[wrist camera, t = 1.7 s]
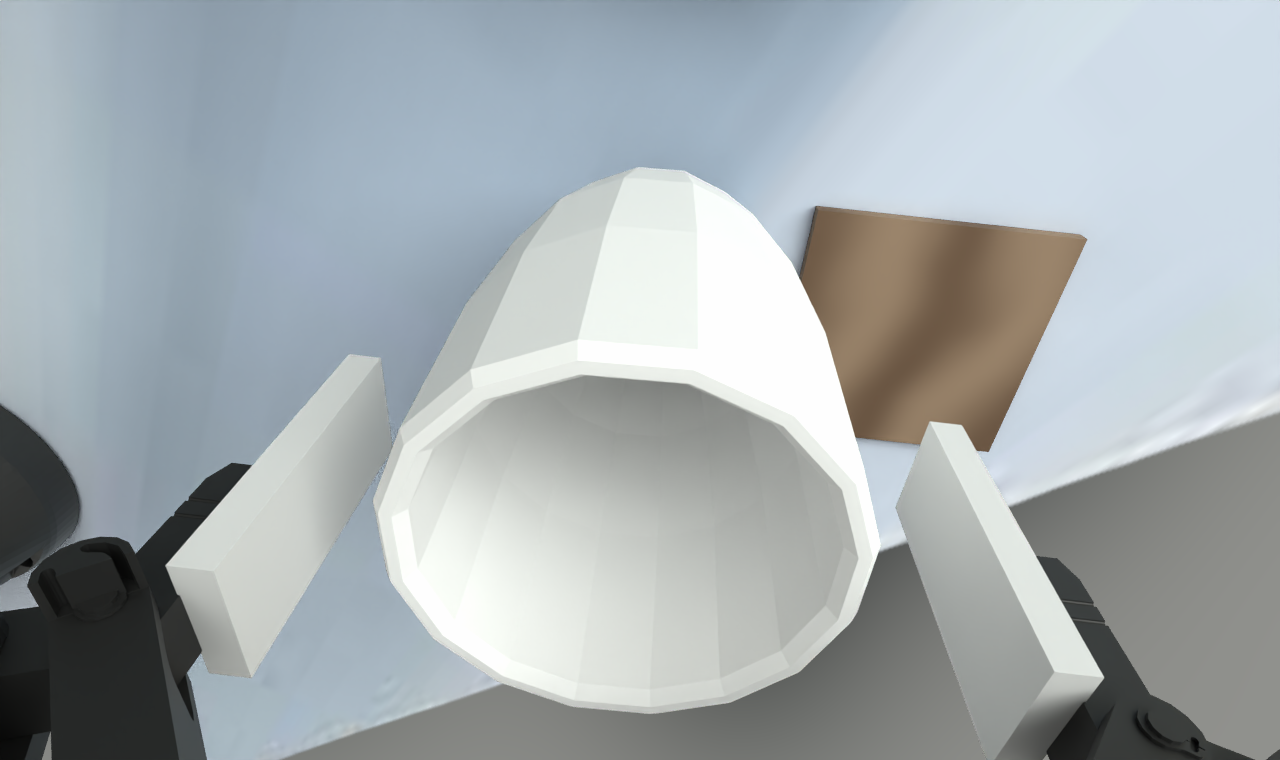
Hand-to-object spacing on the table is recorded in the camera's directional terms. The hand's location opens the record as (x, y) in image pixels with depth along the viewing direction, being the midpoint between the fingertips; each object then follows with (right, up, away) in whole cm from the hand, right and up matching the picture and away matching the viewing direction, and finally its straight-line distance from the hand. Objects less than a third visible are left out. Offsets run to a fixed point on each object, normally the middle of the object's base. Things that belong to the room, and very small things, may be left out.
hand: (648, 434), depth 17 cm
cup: (+1, +9, +15) cm, 17 cm away
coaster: (+13, +3, +17) cm, 22 cm away
